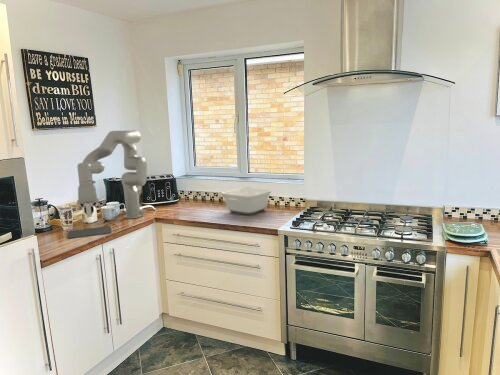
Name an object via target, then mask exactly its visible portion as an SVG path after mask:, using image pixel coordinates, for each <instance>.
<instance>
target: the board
mask: <svg viewBox="0 0 500 375" xmlns="http://www.w3.org/2000/svg"><path fill="white" fill-rule="evenodd" d="M85 204H86V212H87V214H86V218H92V217H93V216H92V215H93V214H92V213H91V202H88V203H85Z"/></svg>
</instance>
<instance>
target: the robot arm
mask: <svg viewBox="0 0 500 375" xmlns="http://www.w3.org/2000/svg"><path fill="white" fill-rule="evenodd" d="M141 138H142V137H141V133H140V132H139V131H138V130H135V129H134V130H112V131H109V132H108V133H107V135H106V136H105V137H104V139H103V140H102V142H101V143H100V145H99V146H98V147H96V148H95V149H93V150H92V151H90V152H89V153H88V154H87V155H86V156H85V158H84V159H83V161H82V162H80V163H78V164H77V167H76V168H77V175H78V183H79V184H78V187H77V201H76V205H78V206H80V207H83V212H84V213H85V215H87V212H86V203H88V202H91V213H92V215H93V214H94V212H95V211H94V207H95V206H96V205H97V204H98V203H100V199H99V198H98V197H97V195H98V194H97V190H96V186H95V184H96V180H93V174H96V175H99V174H102V173H103V172H104V170H105V169H106V168H105V165H104V163H103V162H101V161H99V160H101V159H104V158H107V157H109V156H111V155H112V154H113V152H114V150H116V148H117V146H119V144H120V145H121V146H122V148H123V168H124V169H126V170H128V171H127V172H123V174H122V175H121V177H120V179H121V181H120V182H121V184H122V188H123V194H124V196H123V197H124V207H125V214H124V216H123V218H124V219H128V220H129V219H130V220H131V219H137V218H141V217H143V216H144V215H143V214H147V213H148V211H147V209H146V210H145V209H141V207H140V206H141V205H140V194H139V189H138V187H143V186H145V185H146V182H147V176H148V174H147V172H148V163H147V160H146V158H144V156H139V155H138V149H137V148H138V147H137V146H136V144H138V143H140V141H141ZM135 171H136V172H135Z"/></svg>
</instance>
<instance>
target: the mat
mask: <svg viewBox="0 0 500 375" xmlns="http://www.w3.org/2000/svg"><path fill="white" fill-rule="evenodd" d="M108 234H112V229H111V225H107V226H97V227H89V228H84V229H83V228H82V229H74V230H69V231H68V234H67V238H66V239H67V240H69V239H76V238H77V239H79V238H85V237H93V236H100V235H108Z"/></svg>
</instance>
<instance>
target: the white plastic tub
mask: <svg viewBox="0 0 500 375" xmlns="http://www.w3.org/2000/svg"><path fill="white" fill-rule="evenodd" d="M271 192H272V189H269V188H261V187H251V186H249V187H248V186H247V187H245V186H243V187H238V188H234V189H233V188H232V189H230V190H226V191H222V192H221V194H222V196H223V198H224V202H225V205H226V207H227V208H226V209H228V210H229V211H230V212H231V213H234V214H240V215H247V216H250V215H254V214H256V213H259V212H262V211H264V210H265V209H267V208H268V204H269V198H270V195H271Z"/></svg>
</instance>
